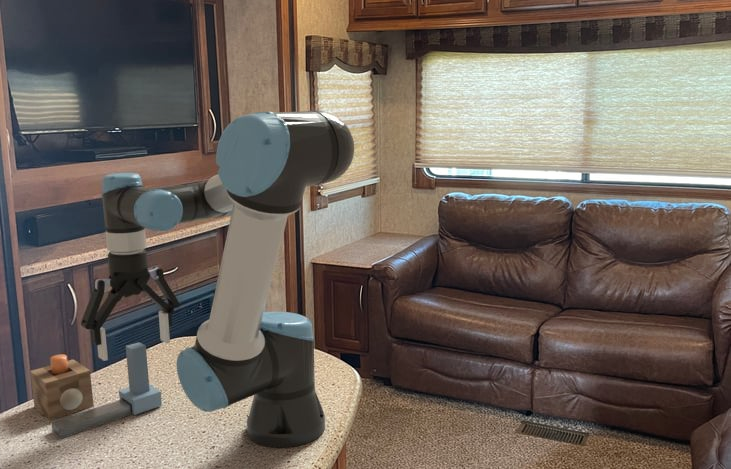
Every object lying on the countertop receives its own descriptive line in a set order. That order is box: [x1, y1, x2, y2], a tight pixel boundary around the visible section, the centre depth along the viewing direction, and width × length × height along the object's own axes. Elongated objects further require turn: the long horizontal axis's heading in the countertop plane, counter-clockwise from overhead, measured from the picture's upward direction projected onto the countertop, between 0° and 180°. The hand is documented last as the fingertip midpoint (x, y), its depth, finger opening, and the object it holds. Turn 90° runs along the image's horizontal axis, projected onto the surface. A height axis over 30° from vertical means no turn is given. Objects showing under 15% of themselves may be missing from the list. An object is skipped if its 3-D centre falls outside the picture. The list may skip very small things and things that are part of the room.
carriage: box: [118, 342, 163, 416], centre depth 145 cm, size 7×6×13 cm
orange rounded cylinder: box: [49, 354, 68, 375], centre depth 145 cm, size 3×3×3 cm
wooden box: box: [29, 359, 95, 421], centre depth 146 cm, size 10×9×8 cm
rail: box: [51, 399, 134, 440], centre depth 141 cm, size 4×21×2 cm, turn 134°
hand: (135, 349), depth 144 cm, fingers open, 13 cm apart
